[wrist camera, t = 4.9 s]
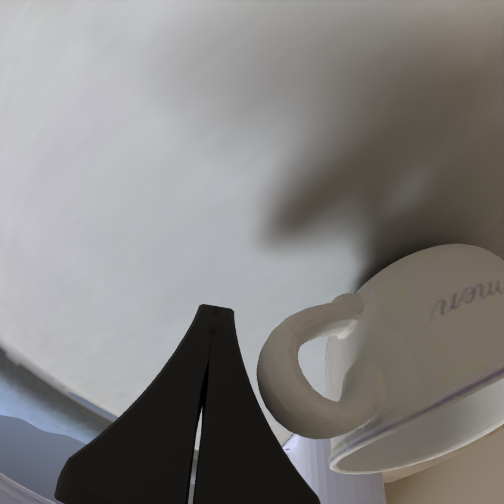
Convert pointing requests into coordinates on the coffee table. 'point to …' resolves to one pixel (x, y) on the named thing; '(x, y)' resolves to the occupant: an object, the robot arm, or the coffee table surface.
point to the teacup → (397, 362)
